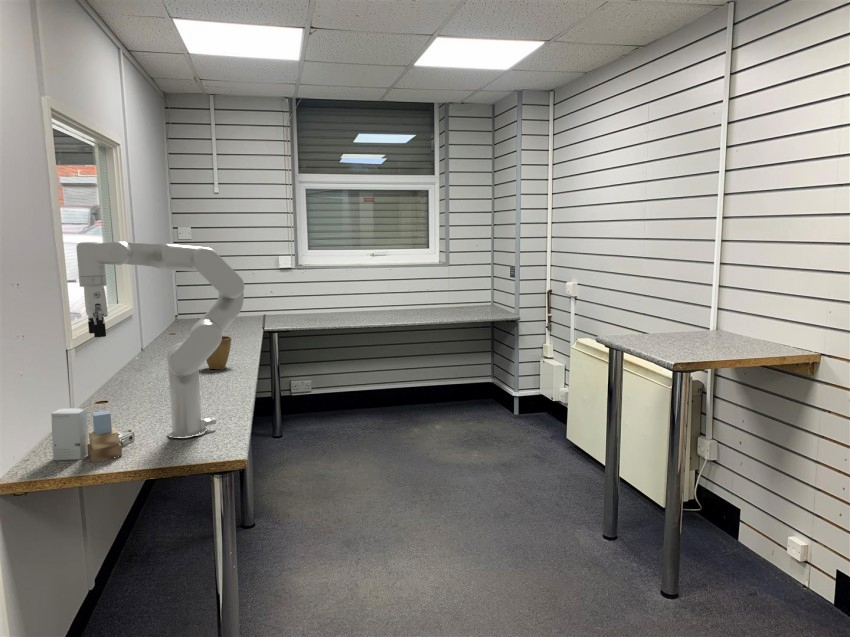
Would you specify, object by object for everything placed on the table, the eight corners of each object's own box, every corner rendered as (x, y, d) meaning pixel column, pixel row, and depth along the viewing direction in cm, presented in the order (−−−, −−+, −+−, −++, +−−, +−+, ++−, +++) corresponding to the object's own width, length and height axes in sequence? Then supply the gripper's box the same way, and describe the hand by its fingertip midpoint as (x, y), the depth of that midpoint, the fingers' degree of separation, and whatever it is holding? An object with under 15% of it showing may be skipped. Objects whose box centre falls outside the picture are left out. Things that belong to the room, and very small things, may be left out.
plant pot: (227, 371, 298) (225, 340, 296) (197, 371, 298) (196, 340, 296) (236, 365, 313) (235, 335, 311) (208, 365, 313) (206, 335, 311)
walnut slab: (116, 450, 190) (115, 438, 189) (122, 457, 183) (121, 445, 183) (88, 456, 185) (87, 443, 184) (93, 463, 179) (91, 450, 178)
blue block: (110, 428, 186) (108, 410, 185) (112, 432, 182) (110, 413, 182) (94, 431, 184) (92, 412, 183) (95, 435, 180) (93, 416, 179)
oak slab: (114, 438, 188) (113, 426, 188) (119, 445, 183) (118, 432, 182) (89, 443, 184) (88, 431, 184) (93, 450, 179) (92, 437, 178)
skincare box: (53, 461, 180) (48, 413, 178) (62, 454, 186) (58, 408, 184) (82, 459, 181) (78, 412, 179) (91, 452, 187) (86, 406, 185)
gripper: (111, 282, 183) (116, 337, 185) (101, 279, 196) (105, 330, 199) (83, 283, 178) (88, 339, 181) (75, 280, 192) (79, 332, 194)
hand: (97, 334), depth 190 cm, fingers open, 9 cm apart
